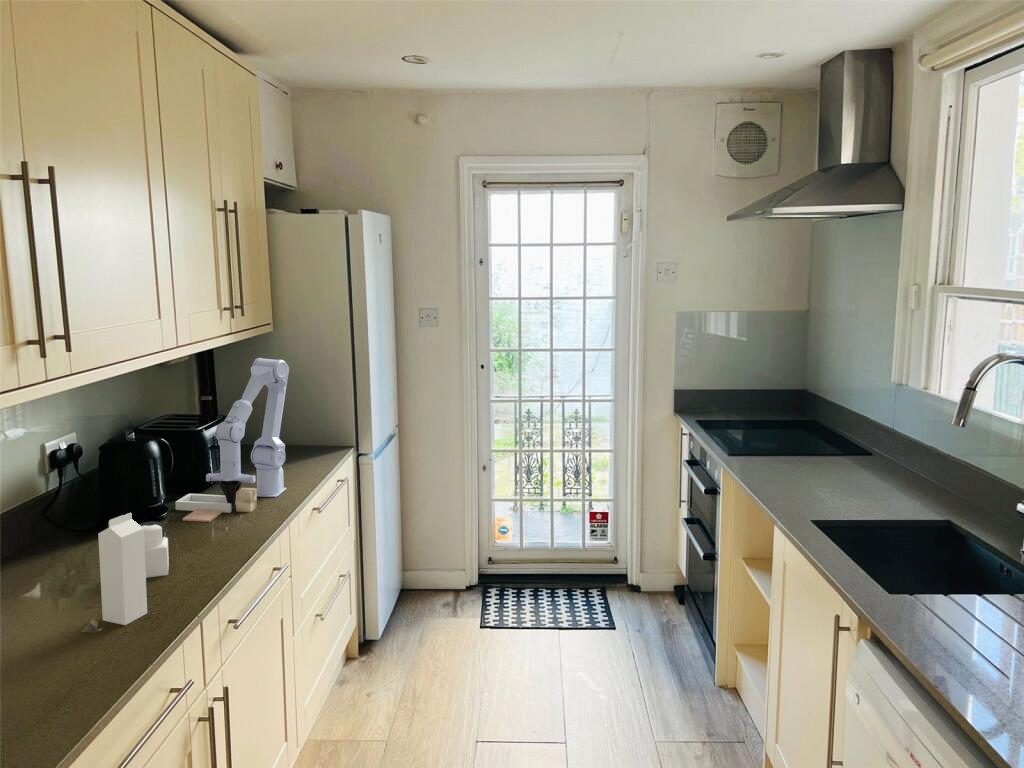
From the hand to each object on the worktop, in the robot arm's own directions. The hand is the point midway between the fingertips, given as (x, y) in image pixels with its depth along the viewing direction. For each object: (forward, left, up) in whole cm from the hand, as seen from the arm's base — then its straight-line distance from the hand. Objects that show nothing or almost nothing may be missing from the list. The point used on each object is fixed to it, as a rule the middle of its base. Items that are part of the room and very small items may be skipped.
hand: (231, 504), depth 228 cm
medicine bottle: (+49, +2, -1) cm, 49 cm away
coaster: (+9, -5, -1) cm, 10 cm away
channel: (0, -6, -1) cm, 7 cm away
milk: (+72, +9, -1) cm, 73 cm away
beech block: (0, +5, -1) cm, 5 cm away
